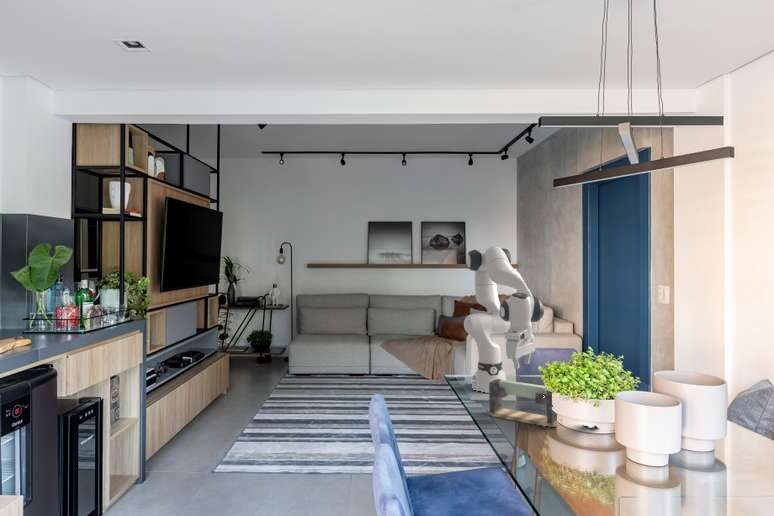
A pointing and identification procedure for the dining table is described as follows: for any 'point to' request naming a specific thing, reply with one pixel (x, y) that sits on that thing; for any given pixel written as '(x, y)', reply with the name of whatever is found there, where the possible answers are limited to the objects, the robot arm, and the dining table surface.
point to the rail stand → (497, 411)
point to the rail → (522, 388)
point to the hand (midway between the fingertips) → (522, 366)
